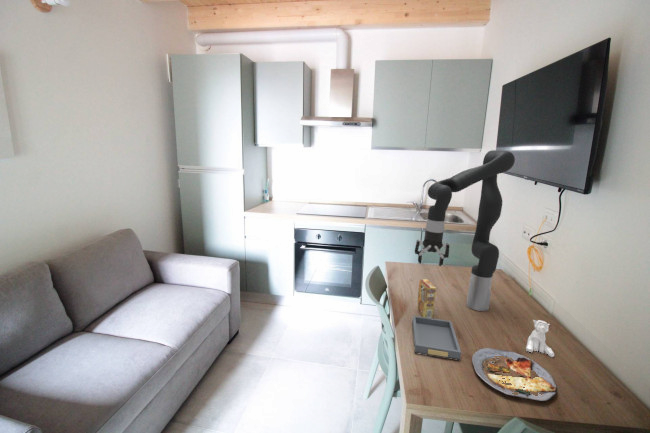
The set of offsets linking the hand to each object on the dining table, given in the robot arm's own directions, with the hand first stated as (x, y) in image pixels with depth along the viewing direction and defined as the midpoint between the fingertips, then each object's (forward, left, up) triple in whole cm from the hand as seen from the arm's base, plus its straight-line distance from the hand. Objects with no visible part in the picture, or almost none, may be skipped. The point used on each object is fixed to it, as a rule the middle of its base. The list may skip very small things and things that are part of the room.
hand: (429, 264), depth 138 cm
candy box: (0, 0, -25) cm, 25 cm away
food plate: (-26, +34, -25) cm, 50 cm away
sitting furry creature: (-41, +15, -25) cm, 50 cm away
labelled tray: (-2, +20, -25) cm, 32 cm away
